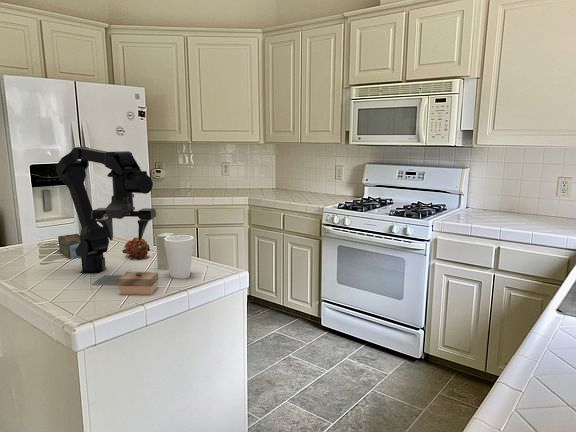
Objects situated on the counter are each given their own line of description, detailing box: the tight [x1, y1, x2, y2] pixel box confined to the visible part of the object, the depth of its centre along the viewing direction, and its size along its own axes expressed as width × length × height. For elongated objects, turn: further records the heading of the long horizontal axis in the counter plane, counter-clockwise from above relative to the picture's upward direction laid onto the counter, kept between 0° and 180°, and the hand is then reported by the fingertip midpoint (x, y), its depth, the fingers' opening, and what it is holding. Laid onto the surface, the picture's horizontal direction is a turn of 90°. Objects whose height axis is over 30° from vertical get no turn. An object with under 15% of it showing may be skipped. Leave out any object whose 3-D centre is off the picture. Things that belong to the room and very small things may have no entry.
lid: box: [118, 271, 159, 287], centre depth 128 cm, size 10×6×3 cm
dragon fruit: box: [121, 237, 151, 259], centre depth 167 cm, size 8×8×12 cm
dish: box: [119, 280, 159, 296], centre depth 128 cm, size 9×6×3 cm, turn 89°
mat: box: [90, 274, 124, 286], centre depth 138 cm, size 12×10×1 cm
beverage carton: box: [57, 233, 81, 260], centre depth 172 cm, size 8×19×7 cm, turn 39°
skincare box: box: [155, 232, 176, 271], centre depth 152 cm, size 6×4×12 cm
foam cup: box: [164, 234, 195, 280], centre depth 143 cm, size 10×9×13 cm
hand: (125, 240), depth 138 cm, fingers open, 9 cm apart
